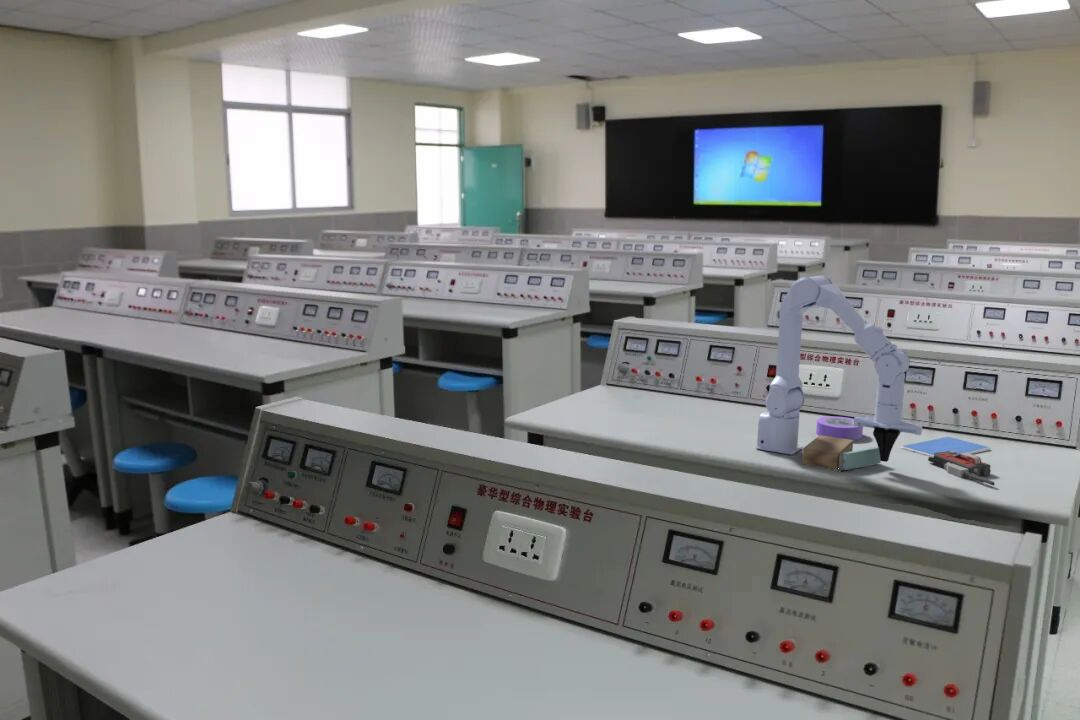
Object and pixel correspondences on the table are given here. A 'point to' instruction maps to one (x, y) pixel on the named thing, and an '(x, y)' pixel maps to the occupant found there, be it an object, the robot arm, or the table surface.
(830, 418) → the masking tape
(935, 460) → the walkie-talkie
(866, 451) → the pale teal rectangular panel
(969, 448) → the tablet computer
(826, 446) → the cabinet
